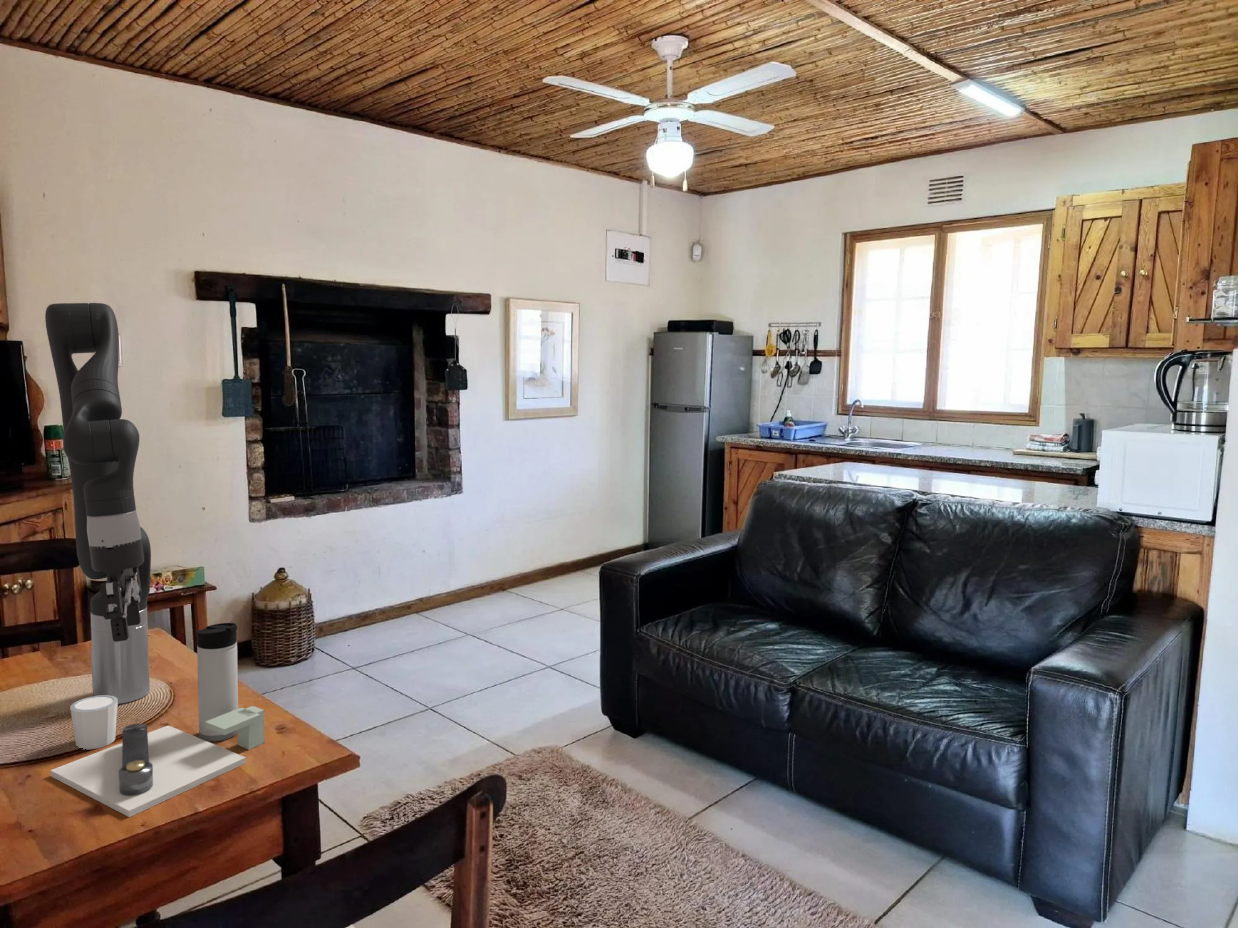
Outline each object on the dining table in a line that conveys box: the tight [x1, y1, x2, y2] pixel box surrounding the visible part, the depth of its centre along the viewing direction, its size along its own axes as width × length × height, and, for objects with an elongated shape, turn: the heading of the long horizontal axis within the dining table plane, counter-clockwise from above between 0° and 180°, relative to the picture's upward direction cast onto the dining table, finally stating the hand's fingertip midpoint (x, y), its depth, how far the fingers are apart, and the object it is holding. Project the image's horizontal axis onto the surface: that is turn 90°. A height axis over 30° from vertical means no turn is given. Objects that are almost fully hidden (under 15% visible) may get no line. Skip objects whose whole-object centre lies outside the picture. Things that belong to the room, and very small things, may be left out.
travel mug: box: [196, 622, 239, 743], centre depth 142 cm, size 6×7×20 cm
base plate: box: [50, 725, 247, 818], centre depth 130 cm, size 21×19×1 cm
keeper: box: [205, 705, 265, 750], centre depth 137 cm, size 5×8×6 cm, turn 151°
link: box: [119, 723, 153, 795], centre depth 128 cm, size 19×4×4 cm, turn 31°
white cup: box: [70, 695, 119, 750], centre depth 138 cm, size 7×7×7 cm
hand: (127, 632), depth 137 cm, fingers open, 8 cm apart
